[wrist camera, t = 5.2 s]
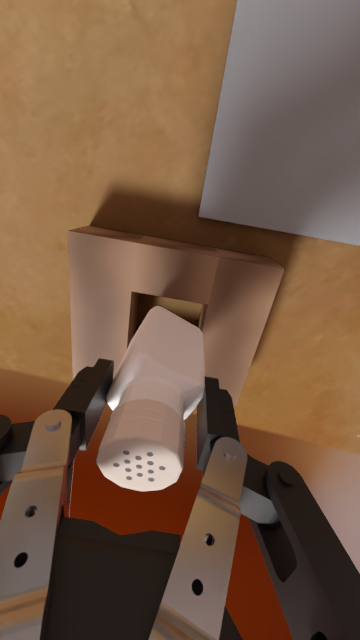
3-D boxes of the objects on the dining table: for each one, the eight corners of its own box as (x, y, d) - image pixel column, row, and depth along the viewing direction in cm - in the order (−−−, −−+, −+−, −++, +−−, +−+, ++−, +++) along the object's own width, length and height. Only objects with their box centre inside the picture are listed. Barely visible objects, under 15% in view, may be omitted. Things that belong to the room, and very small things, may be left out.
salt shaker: (155, 299, 16) (111, 410, 8) (206, 328, 17) (216, 458, 9) (129, 342, 18) (69, 473, 9) (176, 367, 19) (160, 509, 10)
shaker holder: (269, 257, 19) (284, 269, 16) (230, 379, 24) (236, 406, 21) (89, 225, 19) (67, 230, 16) (89, 355, 24) (73, 379, 21)
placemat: (538, 27, 13) (553, 20, 13) (410, 254, 18) (416, 255, 18) (243, -32, 13) (245, -43, 12) (198, 216, 18) (198, 216, 18)
